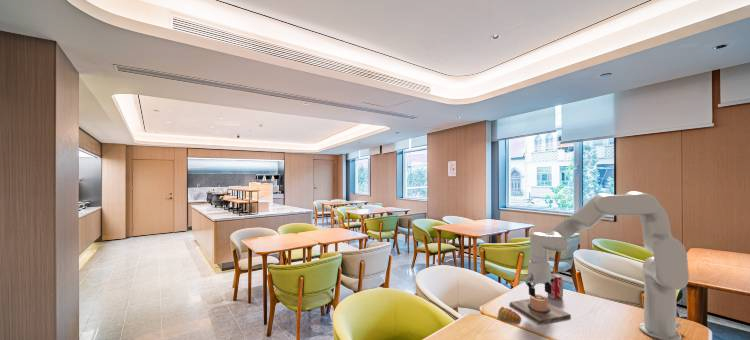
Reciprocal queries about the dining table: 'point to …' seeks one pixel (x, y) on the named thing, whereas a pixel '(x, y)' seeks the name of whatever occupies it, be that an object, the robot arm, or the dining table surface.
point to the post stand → (540, 316)
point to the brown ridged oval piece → (509, 315)
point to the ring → (539, 303)
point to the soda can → (556, 287)
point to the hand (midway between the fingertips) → (540, 294)
